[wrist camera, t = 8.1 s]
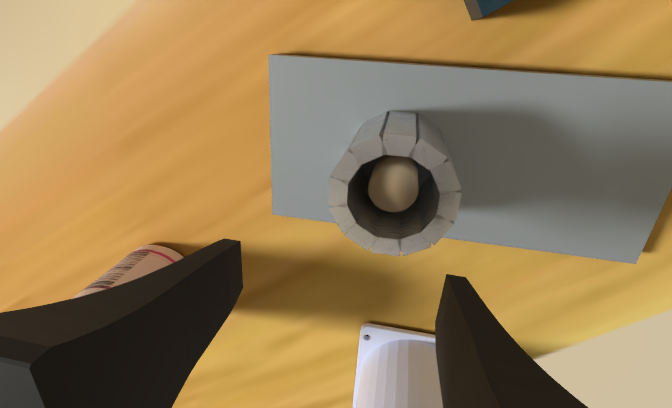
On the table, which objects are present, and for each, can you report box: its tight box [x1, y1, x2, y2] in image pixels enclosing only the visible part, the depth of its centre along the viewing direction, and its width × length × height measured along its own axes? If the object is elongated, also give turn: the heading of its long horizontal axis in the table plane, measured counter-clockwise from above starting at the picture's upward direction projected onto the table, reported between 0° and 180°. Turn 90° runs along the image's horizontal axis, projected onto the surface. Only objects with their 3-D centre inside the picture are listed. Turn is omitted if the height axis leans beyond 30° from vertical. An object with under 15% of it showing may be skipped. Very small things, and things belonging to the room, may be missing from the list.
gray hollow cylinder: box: [328, 111, 462, 256], centre depth 17 cm, size 5×5×5 cm
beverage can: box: [72, 245, 184, 299], centre depth 21 cm, size 6×6×15 cm
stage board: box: [269, 54, 672, 264], centre depth 19 cm, size 9×20×1 cm, turn 87°
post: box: [368, 155, 418, 212], centre depth 18 cm, size 2×2×4 cm
